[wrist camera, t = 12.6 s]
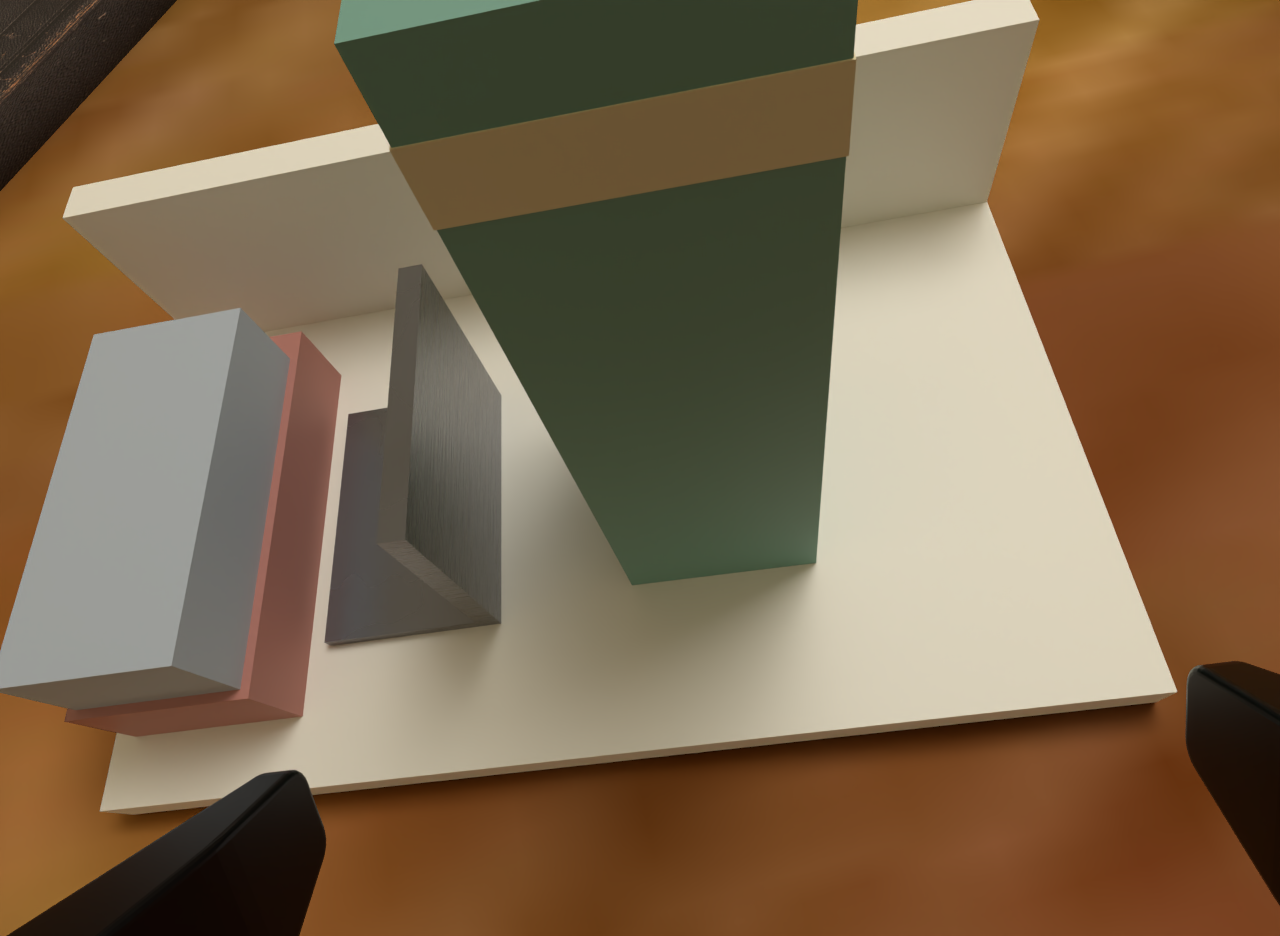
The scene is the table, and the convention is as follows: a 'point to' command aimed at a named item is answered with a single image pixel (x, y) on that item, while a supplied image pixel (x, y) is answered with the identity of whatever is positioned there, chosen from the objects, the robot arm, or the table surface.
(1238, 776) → the robot arm
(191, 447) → the cream piece
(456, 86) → the green box
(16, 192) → the table surface
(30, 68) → the hardcover book
